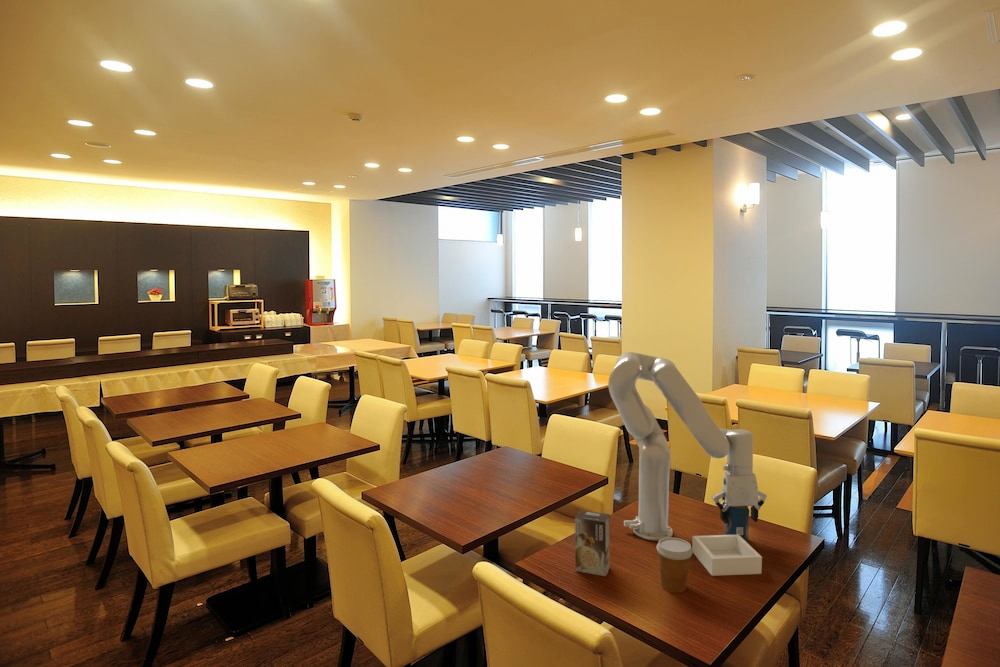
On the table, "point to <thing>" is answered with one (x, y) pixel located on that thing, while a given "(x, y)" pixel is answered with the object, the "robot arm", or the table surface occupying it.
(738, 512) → the soda can
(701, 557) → the walled box
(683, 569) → the disposable coffee cup
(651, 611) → the table surface
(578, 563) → the coffee box
